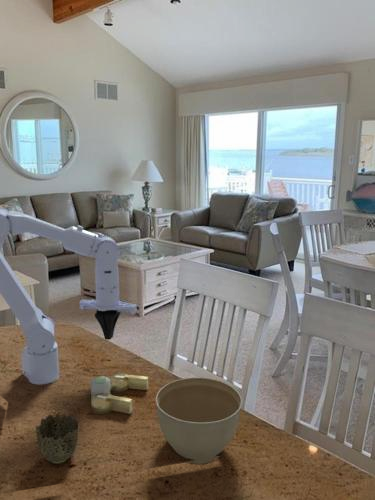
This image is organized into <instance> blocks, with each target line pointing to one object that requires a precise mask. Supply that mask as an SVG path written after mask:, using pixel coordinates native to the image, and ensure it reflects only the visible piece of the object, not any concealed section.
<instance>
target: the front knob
mask: <svg viewBox="0 0 375 500" xmlns="http://www.w3.org/2000/svg"><path fill="white" fill-rule="evenodd" d="M90 402H91V411H92V412H93V413H95V414H98V415H104V414H109V413H110V412H112V411H114V412H119V413H124V414H128V415H130V414H131V413H133V398H128V397H123V396H118V395H113V394H112V393H111V394H109V393H99V394H96V395H94V396H93V397H92V398H91V399H90Z"/></svg>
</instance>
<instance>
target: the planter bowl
mask: <svg viewBox="0 0 375 500" xmlns="http://www.w3.org/2000/svg"><path fill="white" fill-rule="evenodd" d="M155 406H156V411H157V418H158V424H159V427H160V429H161V431H162V434H163V436H164V437H165V439H166V441H167V443H168V444H169V445H170V446H171V447H172V449H173V450H174V451H175V453H177V454H178V455H180V456H181V457H183V458H186V459H190V460H188V461H187V460H186V461H185V462H186V463H187V464H188V463H190V464H193V465H203V464H209V463H212V462H214V461H216V460H217V459H219V458H220V455H219V454H220V453H223V450H224V449H225V448H226V447H227V446H228V444H230V441H232V439H233V437H234V436H235V434H236V431H237V429H238V425H239V422H240V417H241V411H242V408H243V398H242V396H241V394H240V392H239V391H238V390H236V388H235V387H233V386H232V385H230V384H228V383H226V382H224V381H221V380H217V379H213V378H209V377H185V378H181V379H176V380H173V381H171V382H169V383H167V384H165V385H164V386H162V387H161V388H160V389H159V390H158V392H157V394H156V396H155Z"/></svg>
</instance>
